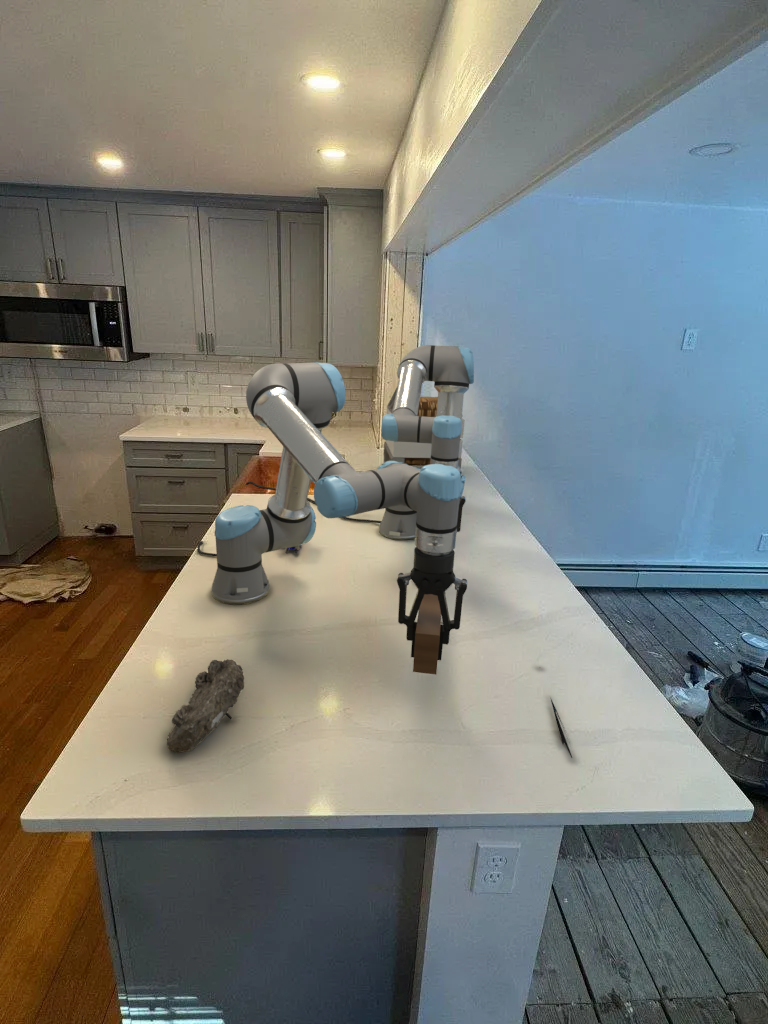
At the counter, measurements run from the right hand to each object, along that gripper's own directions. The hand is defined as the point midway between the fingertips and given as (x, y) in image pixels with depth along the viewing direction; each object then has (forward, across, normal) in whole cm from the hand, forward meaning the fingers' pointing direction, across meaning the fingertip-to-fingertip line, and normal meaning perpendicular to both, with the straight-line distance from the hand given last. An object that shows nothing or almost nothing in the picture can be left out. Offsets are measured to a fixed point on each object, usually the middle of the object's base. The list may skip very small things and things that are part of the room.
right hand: (436, 552), depth 162 cm
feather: (+10, +26, -51) cm, 59 cm away
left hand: (0, 0, -52) cm, 52 cm away
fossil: (+10, -39, -66) cm, 77 cm away
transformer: (+10, -12, +116) cm, 117 cm away
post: (+1, 0, -26) cm, 26 cm away
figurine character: (+10, -47, +16) cm, 50 cm away
